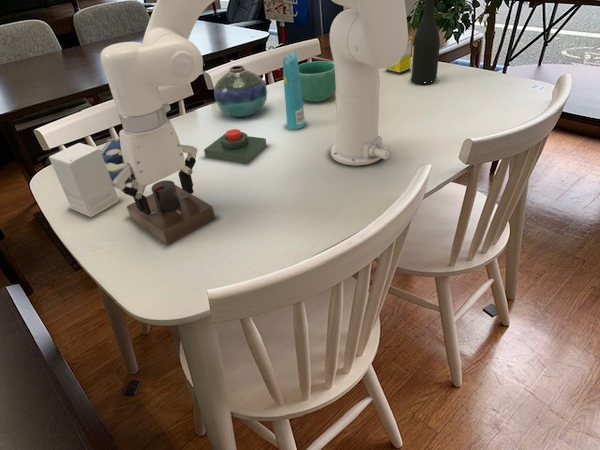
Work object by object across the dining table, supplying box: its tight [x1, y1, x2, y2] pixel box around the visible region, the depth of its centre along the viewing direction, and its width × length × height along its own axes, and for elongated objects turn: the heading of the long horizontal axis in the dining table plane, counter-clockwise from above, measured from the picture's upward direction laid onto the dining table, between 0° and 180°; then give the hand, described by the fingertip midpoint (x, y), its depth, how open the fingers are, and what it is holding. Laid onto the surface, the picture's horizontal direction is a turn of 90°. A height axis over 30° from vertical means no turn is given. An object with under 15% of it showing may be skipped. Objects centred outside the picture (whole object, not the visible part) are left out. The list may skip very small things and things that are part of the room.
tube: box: [282, 49, 306, 130], centre depth 119 cm, size 7×5×19 cm, turn 162°
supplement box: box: [386, 35, 413, 75], centre depth 153 cm, size 6×6×11 cm
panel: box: [126, 184, 216, 246], centre depth 90 cm, size 14×11×3 cm
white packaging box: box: [48, 142, 120, 218], centre depth 94 cm, size 7×7×13 cm
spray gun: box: [100, 137, 131, 182], centre depth 111 cm, size 21×4×15 cm
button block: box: [203, 131, 268, 165], centre depth 113 cm, size 12×10×4 cm
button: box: [225, 128, 242, 141], centre depth 111 cm, size 4×4×2 cm
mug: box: [298, 60, 336, 103], centre depth 139 cm, size 17×13×10 cm
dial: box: [150, 179, 180, 212], centre depth 88 cm, size 4×4×5 cm
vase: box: [213, 65, 268, 118], centre depth 131 cm, size 15×15×13 cm
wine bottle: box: [410, 0, 441, 86], centre depth 137 cm, size 8×8×30 cm
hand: (167, 201), depth 89 cm, fingers open, 9 cm apart
